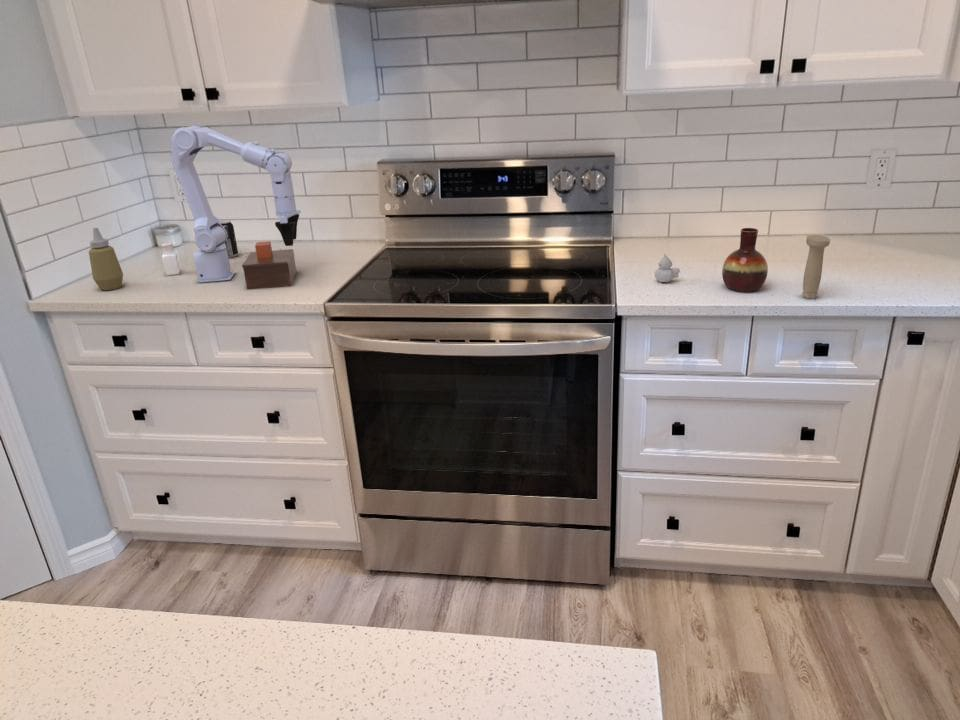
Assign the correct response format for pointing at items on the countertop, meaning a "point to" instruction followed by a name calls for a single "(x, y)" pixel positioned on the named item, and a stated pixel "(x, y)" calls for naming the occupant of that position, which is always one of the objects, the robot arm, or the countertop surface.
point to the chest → (270, 275)
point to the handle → (814, 264)
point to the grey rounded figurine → (666, 270)
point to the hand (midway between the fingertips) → (291, 242)
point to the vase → (745, 265)
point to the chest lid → (276, 259)
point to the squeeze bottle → (104, 263)
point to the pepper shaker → (170, 259)
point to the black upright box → (230, 238)
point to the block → (263, 250)
